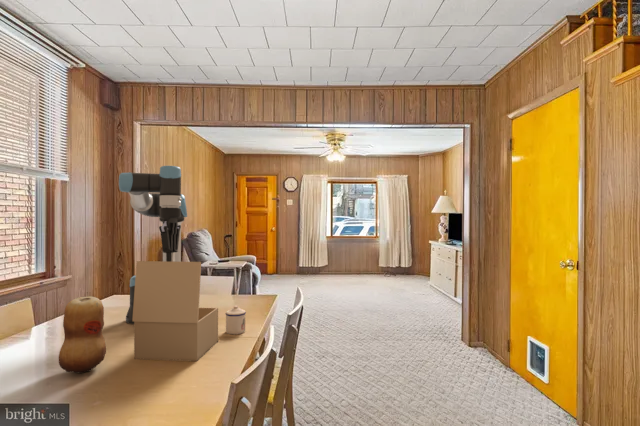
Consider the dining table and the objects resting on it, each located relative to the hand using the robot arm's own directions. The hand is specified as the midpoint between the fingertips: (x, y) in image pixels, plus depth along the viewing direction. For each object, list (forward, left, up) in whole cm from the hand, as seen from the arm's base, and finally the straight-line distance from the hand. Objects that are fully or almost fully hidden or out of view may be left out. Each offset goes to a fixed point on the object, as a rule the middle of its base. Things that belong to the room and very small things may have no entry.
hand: (170, 269), depth 145 cm
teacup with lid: (+15, +34, -33) cm, 49 cm away
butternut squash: (-23, -15, -33) cm, 43 cm away
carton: (0, +8, -33) cm, 33 cm away
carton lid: (0, -2, -8) cm, 8 cm away
